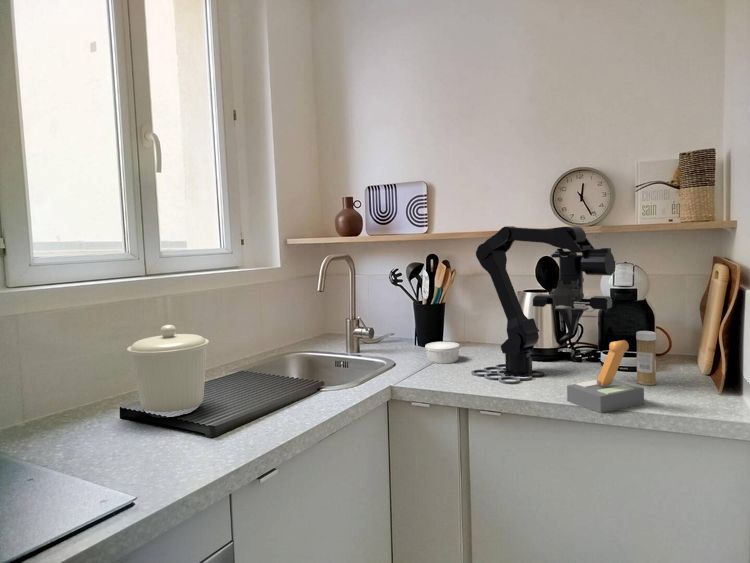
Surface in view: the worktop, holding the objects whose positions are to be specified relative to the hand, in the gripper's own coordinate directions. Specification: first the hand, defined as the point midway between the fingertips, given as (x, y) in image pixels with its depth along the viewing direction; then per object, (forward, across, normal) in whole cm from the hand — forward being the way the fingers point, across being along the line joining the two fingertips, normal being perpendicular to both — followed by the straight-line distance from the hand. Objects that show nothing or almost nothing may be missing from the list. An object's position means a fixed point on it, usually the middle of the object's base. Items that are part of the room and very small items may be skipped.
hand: (571, 334), depth 136 cm
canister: (+13, -72, -71) cm, 102 cm away
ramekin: (+13, -43, +7) cm, 46 cm away
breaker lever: (+9, +11, -12) cm, 19 cm away
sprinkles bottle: (+13, +16, +9) cm, 23 cm away
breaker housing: (+13, +11, -12) cm, 21 cm away
